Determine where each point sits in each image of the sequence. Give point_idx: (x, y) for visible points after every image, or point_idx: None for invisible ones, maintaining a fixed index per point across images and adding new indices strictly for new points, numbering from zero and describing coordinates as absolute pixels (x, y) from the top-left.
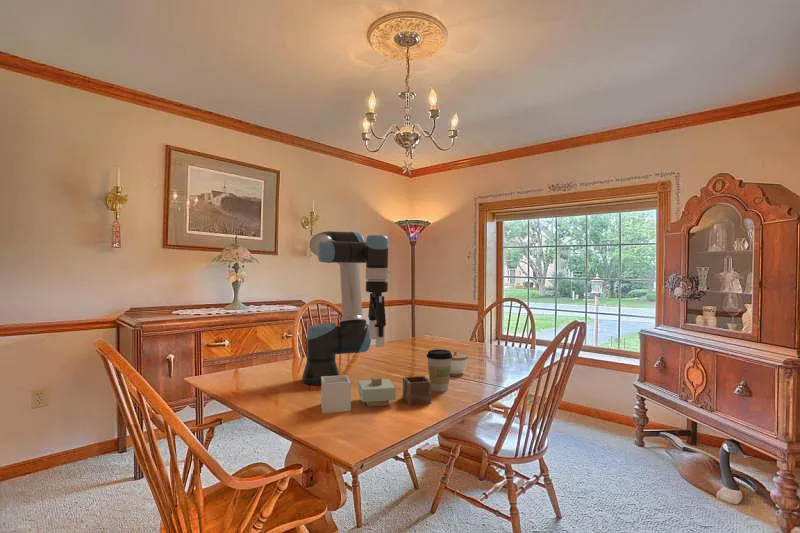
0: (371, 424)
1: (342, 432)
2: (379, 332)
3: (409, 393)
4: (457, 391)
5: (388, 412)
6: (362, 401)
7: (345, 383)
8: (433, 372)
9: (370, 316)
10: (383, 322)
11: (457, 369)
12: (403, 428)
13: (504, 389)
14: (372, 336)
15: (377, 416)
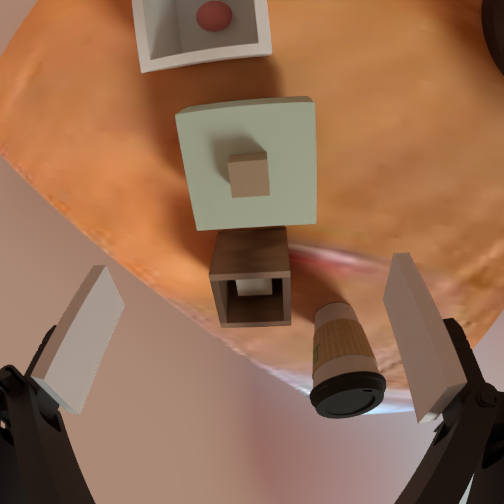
0: (97, 131)
1: (55, 70)
2: (39, 353)
3: (214, 256)
4: None
5: (180, 176)
6: (192, 106)
7: (139, 51)
8: (326, 346)
9: (449, 440)
10: (2, 420)
11: None
12: (82, 202)
13: (306, 395)
14: (395, 286)
15: (150, 145)
